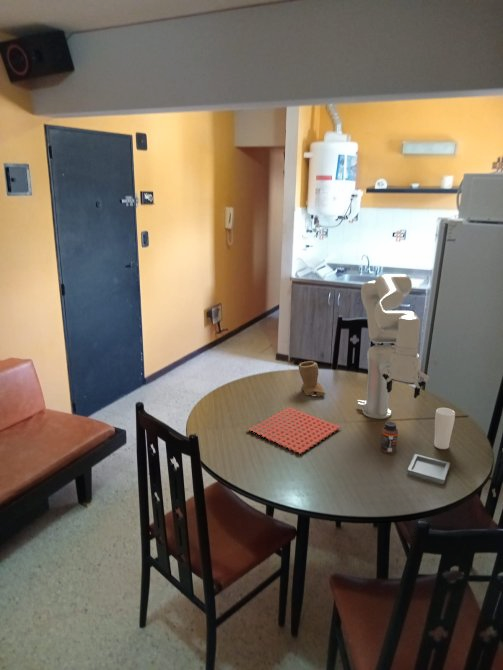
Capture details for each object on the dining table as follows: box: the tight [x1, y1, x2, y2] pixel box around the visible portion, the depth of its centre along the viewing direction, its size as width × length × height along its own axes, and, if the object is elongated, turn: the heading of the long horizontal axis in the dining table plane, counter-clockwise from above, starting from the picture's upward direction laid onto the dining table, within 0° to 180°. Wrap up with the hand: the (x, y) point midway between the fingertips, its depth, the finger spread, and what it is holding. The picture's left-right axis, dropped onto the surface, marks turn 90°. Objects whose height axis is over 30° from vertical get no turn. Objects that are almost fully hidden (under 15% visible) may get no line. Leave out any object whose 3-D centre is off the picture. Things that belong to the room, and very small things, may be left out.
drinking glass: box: [433, 407, 456, 450], centre depth 177 cm, size 7×7×15 cm
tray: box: [406, 453, 451, 486], centre depth 163 cm, size 12×12×2 cm
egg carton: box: [248, 407, 342, 455], centre depth 192 cm, size 28×28×2 cm
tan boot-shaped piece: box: [298, 360, 326, 397], centre depth 228 cm, size 15×12×15 cm
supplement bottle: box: [379, 420, 399, 455], centre depth 175 cm, size 6×6×11 cm
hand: (402, 394), depth 171 cm, fingers open, 9 cm apart
